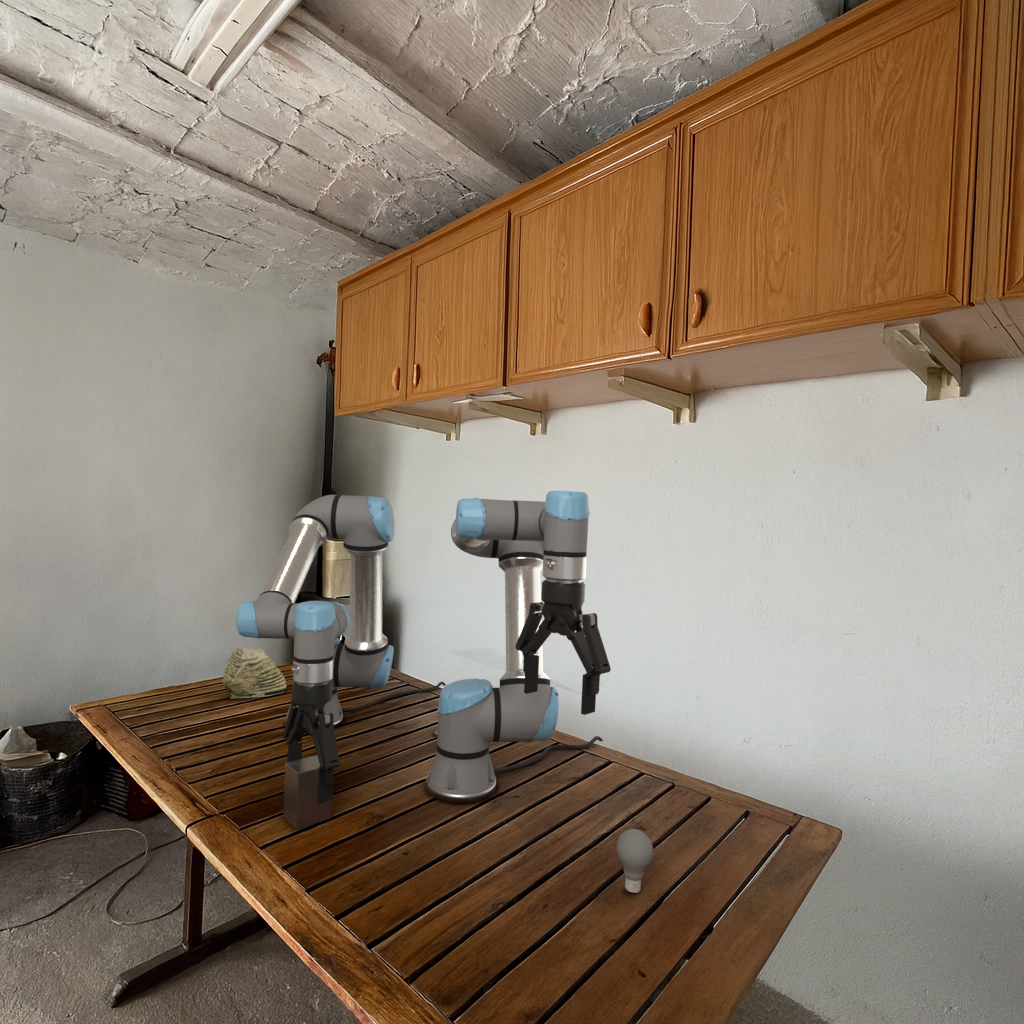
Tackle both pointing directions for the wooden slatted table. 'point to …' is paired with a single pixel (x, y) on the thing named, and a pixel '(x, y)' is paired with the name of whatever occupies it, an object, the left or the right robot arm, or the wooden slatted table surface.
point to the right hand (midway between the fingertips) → (558, 702)
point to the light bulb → (634, 857)
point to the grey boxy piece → (303, 794)
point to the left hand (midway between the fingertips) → (308, 788)
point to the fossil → (252, 674)
